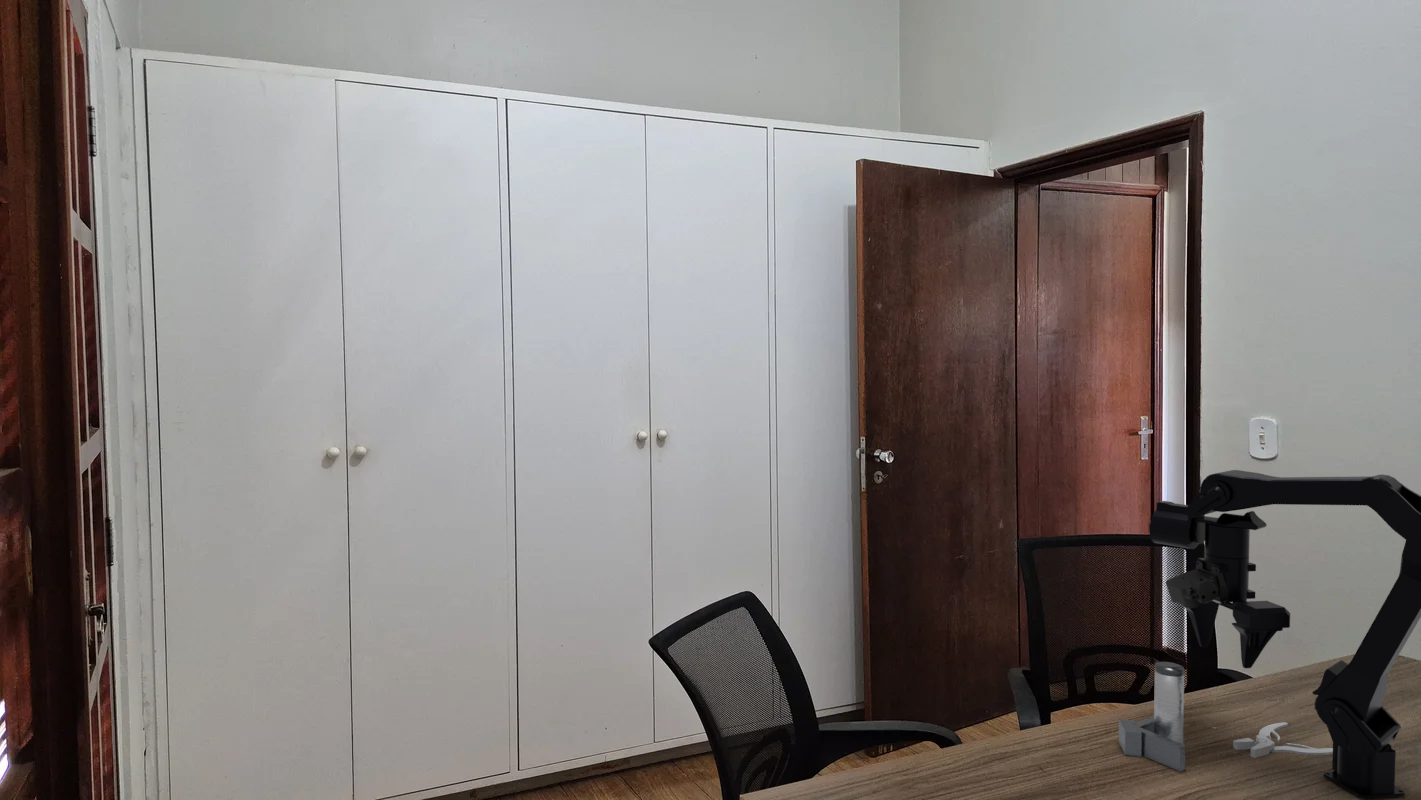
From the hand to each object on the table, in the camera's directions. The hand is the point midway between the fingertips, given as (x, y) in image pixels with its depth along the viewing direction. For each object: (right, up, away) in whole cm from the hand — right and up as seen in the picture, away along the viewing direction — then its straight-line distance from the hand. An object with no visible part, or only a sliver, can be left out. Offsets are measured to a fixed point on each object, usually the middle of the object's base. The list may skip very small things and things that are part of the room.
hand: (1224, 656), depth 128 cm
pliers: (+8, -14, -1) cm, 16 cm away
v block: (-13, -13, -2) cm, 18 cm away
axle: (-10, -13, -3) cm, 17 cm away
